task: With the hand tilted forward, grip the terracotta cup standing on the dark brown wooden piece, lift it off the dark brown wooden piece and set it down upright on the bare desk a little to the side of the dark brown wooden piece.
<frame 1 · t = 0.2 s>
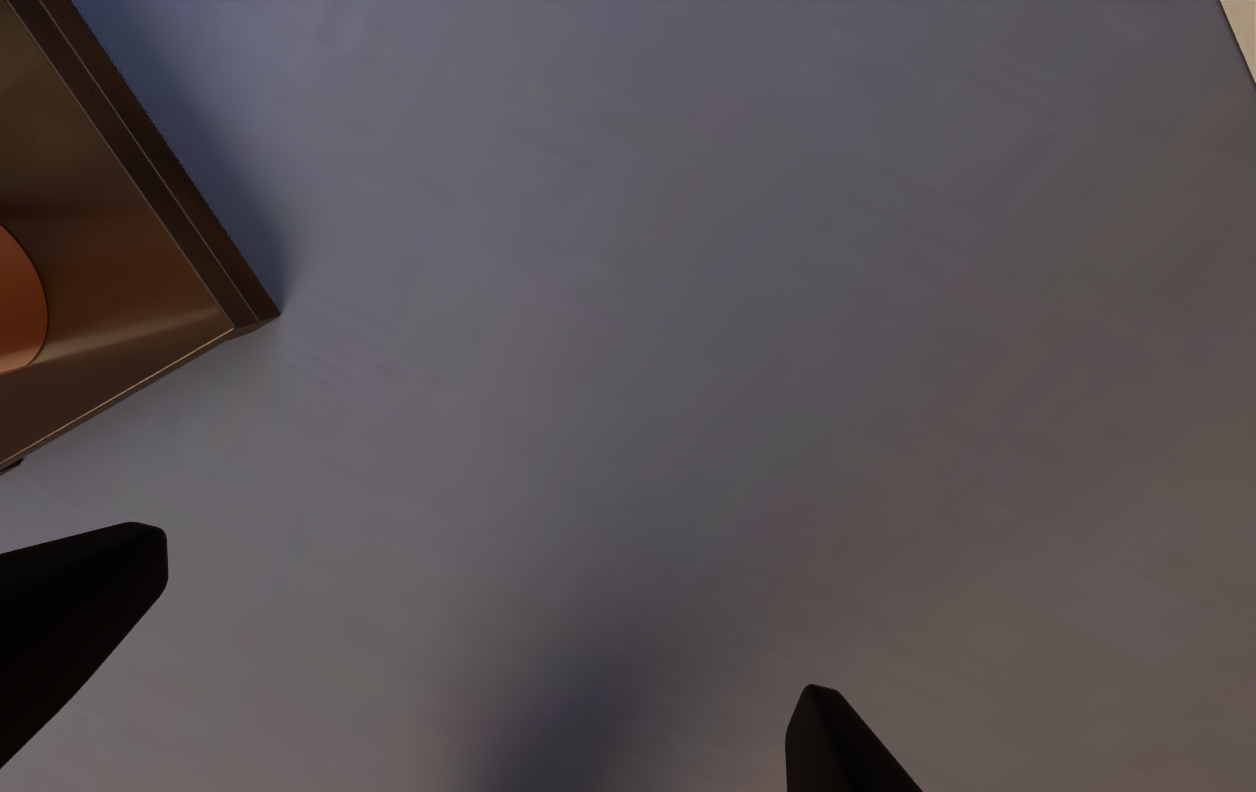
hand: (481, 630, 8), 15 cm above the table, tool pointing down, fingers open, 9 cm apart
dark brown wooden piece: (35, 278, 23), on the table
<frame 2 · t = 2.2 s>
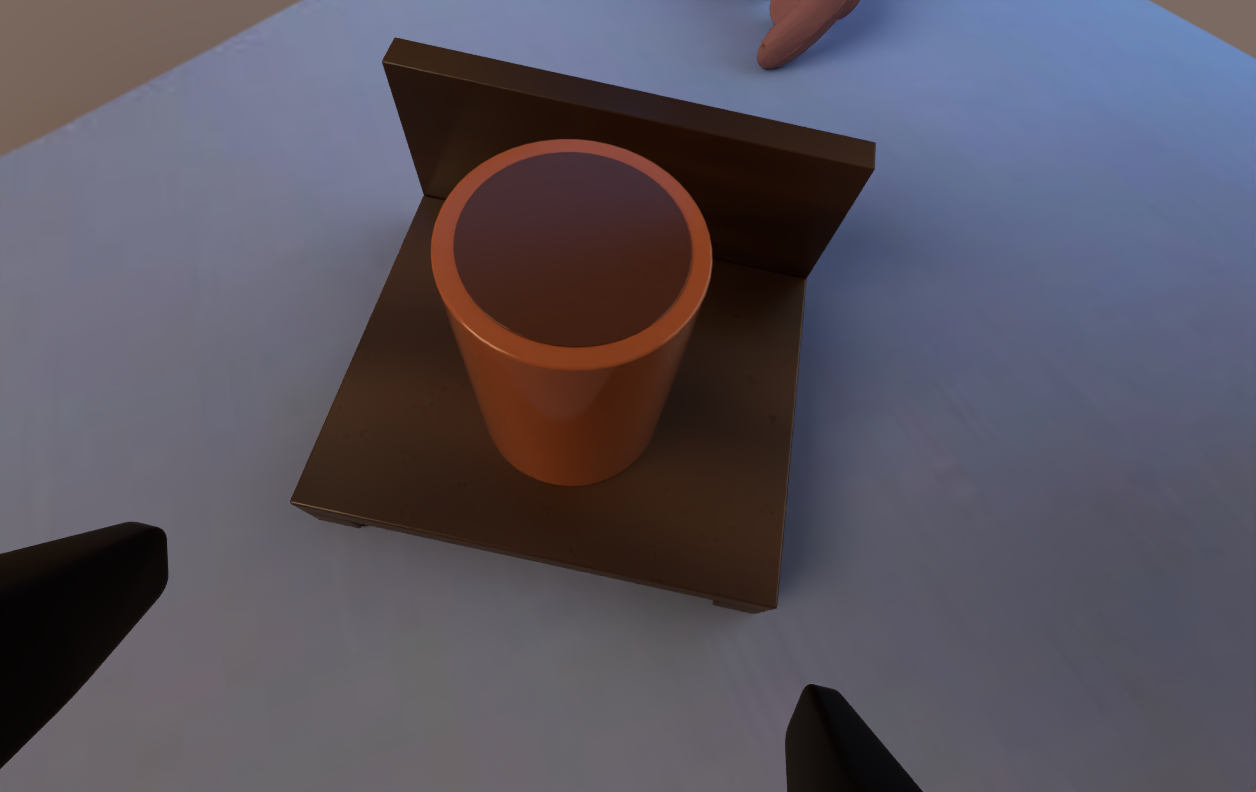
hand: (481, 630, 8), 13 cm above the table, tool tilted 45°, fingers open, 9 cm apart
cup: (572, 401, 22), point 2 cm above the table, touching dark brown wooden piece
dark brown wooden piece: (572, 426, 24), on the table
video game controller: (760, 14, 35), on the table
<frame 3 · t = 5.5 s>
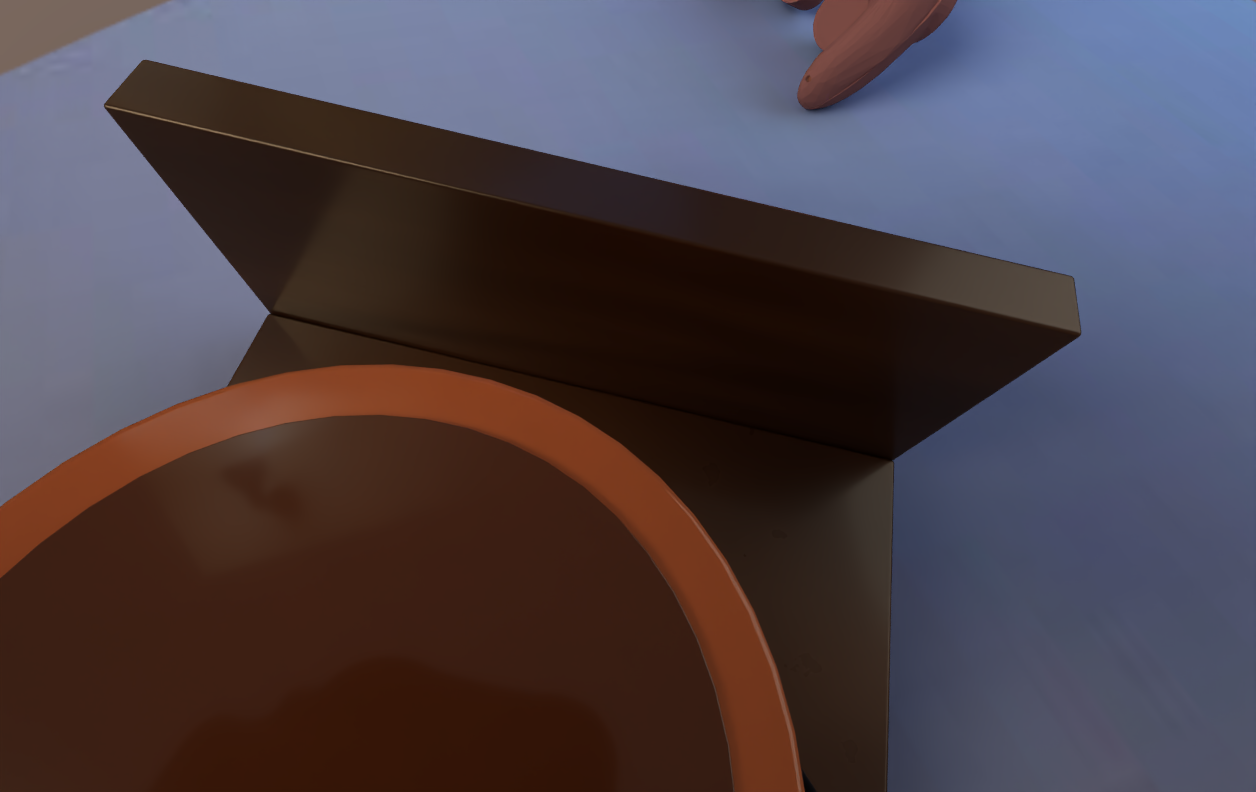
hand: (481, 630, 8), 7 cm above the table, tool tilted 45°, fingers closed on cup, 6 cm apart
cup: (486, 721, 12), point 3 cm above the table, touching gripper, dark brown wooden piece
dark brown wooden piece: (499, 714, 14), on the table
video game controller: (798, 35, 26), on the table
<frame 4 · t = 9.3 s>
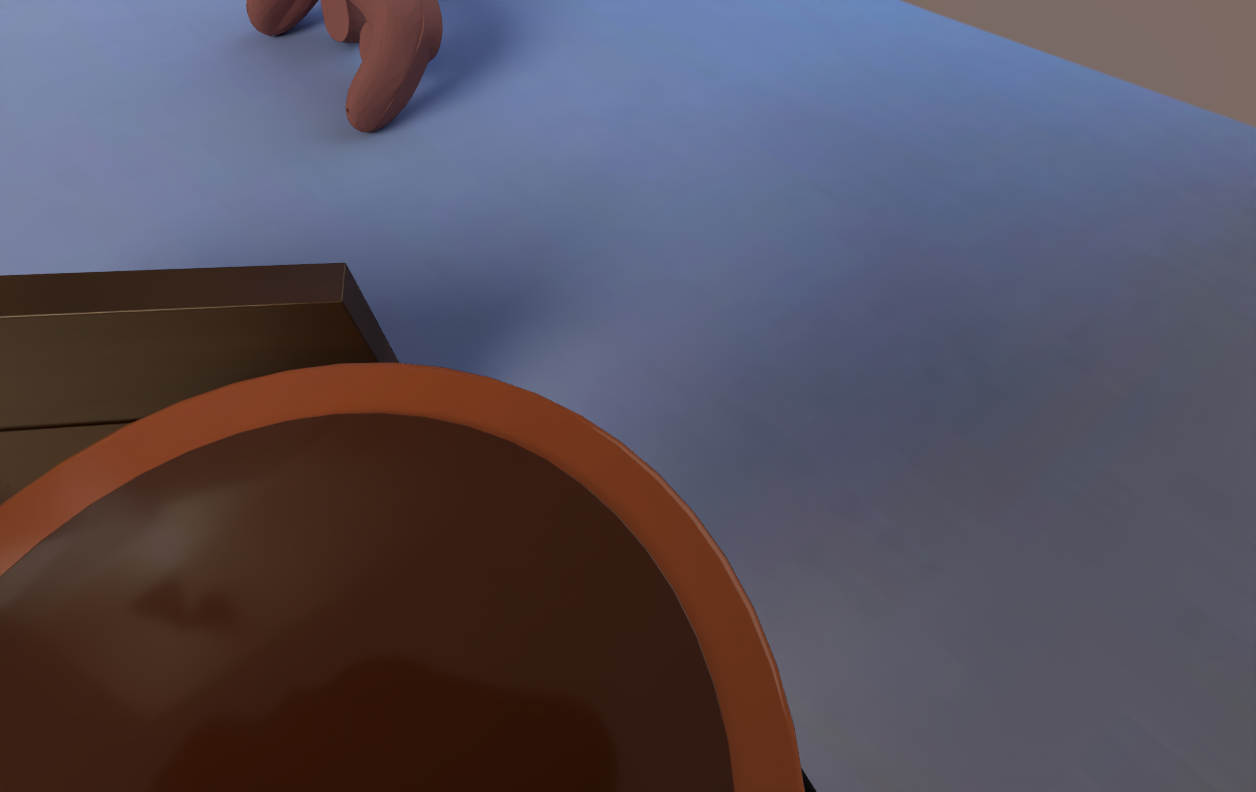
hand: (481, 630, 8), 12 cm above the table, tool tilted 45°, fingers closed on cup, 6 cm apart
cup: (486, 720, 12), point 8 cm above the table, touching gripper
dark brown wooden piece: (139, 681, 18), on the table
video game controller: (361, 66, 30), on the table
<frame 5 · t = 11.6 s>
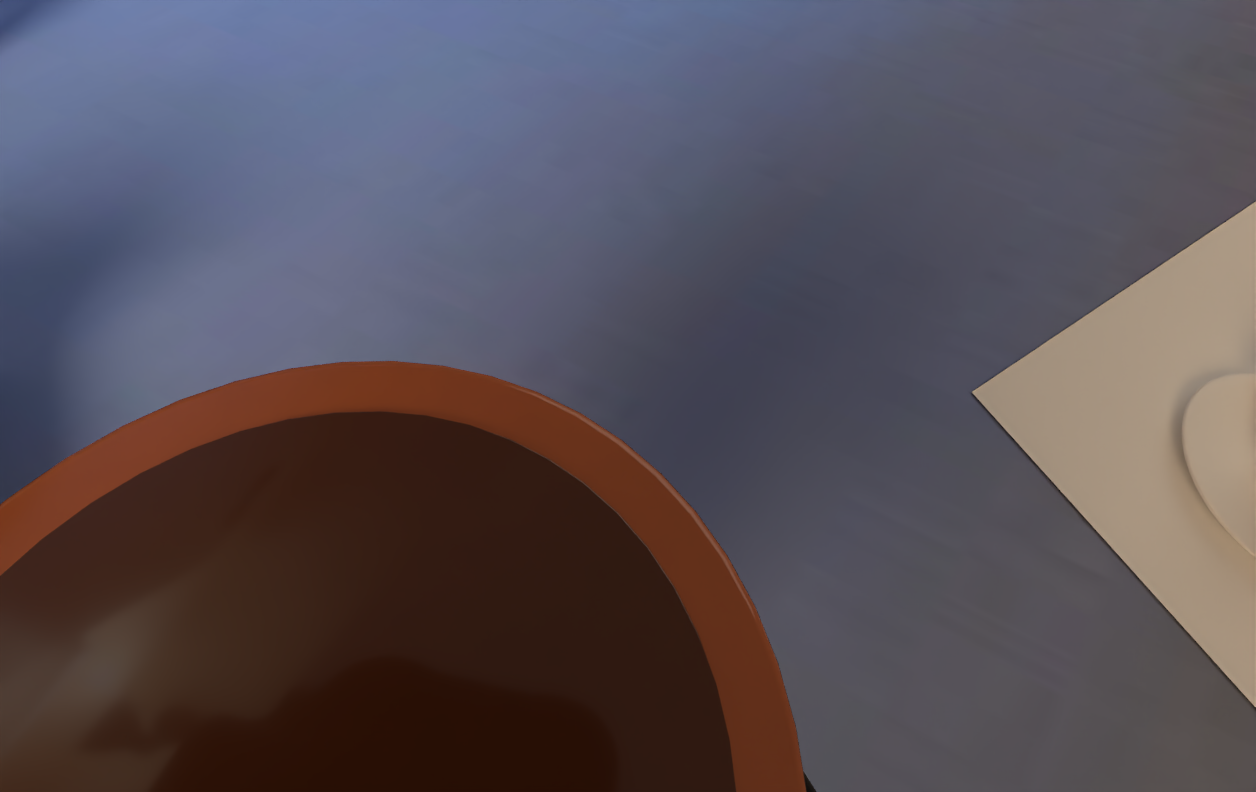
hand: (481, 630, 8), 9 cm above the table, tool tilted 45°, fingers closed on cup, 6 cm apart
cup: (486, 719, 12), point 5 cm above the table, touching gripper
when the fingers open (4 cm above the table, at t = 13.5 s): cup stays where it is, on the table.
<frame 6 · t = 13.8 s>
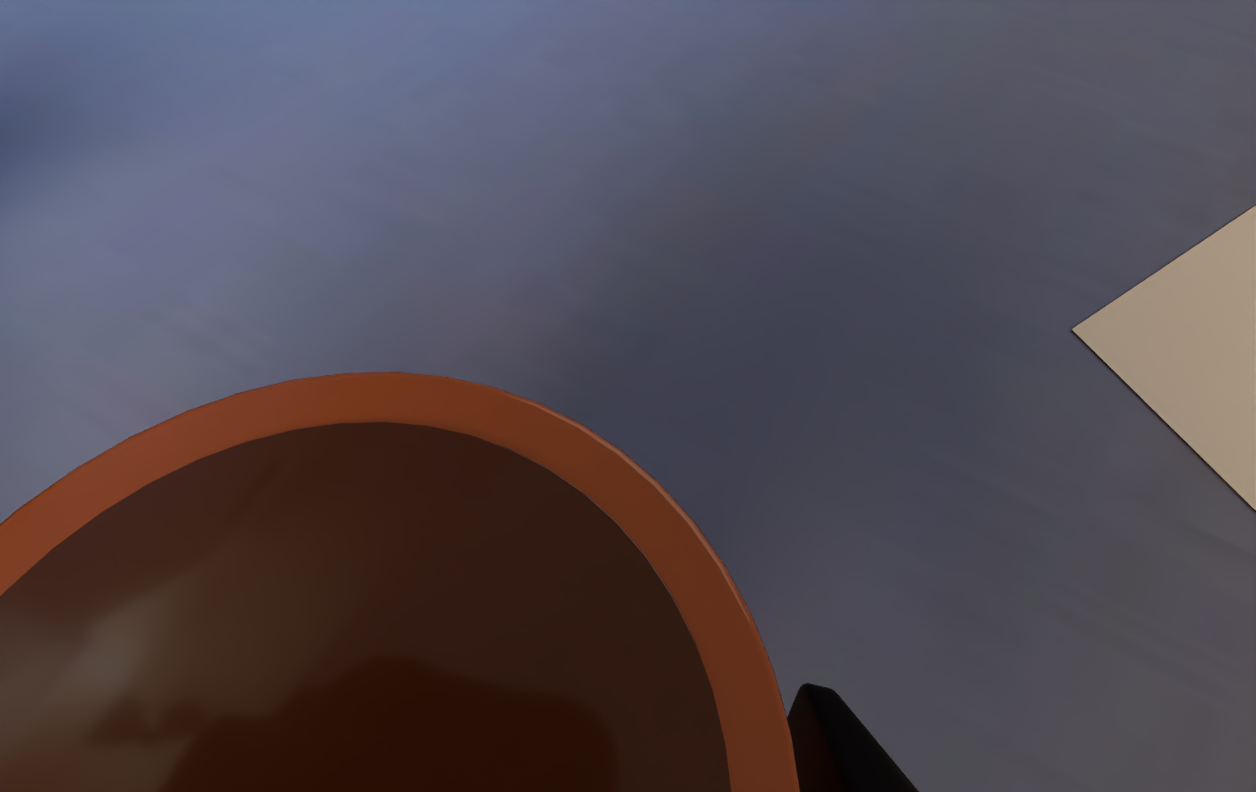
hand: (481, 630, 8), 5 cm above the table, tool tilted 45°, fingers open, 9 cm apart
cup: (487, 721, 12), on the table
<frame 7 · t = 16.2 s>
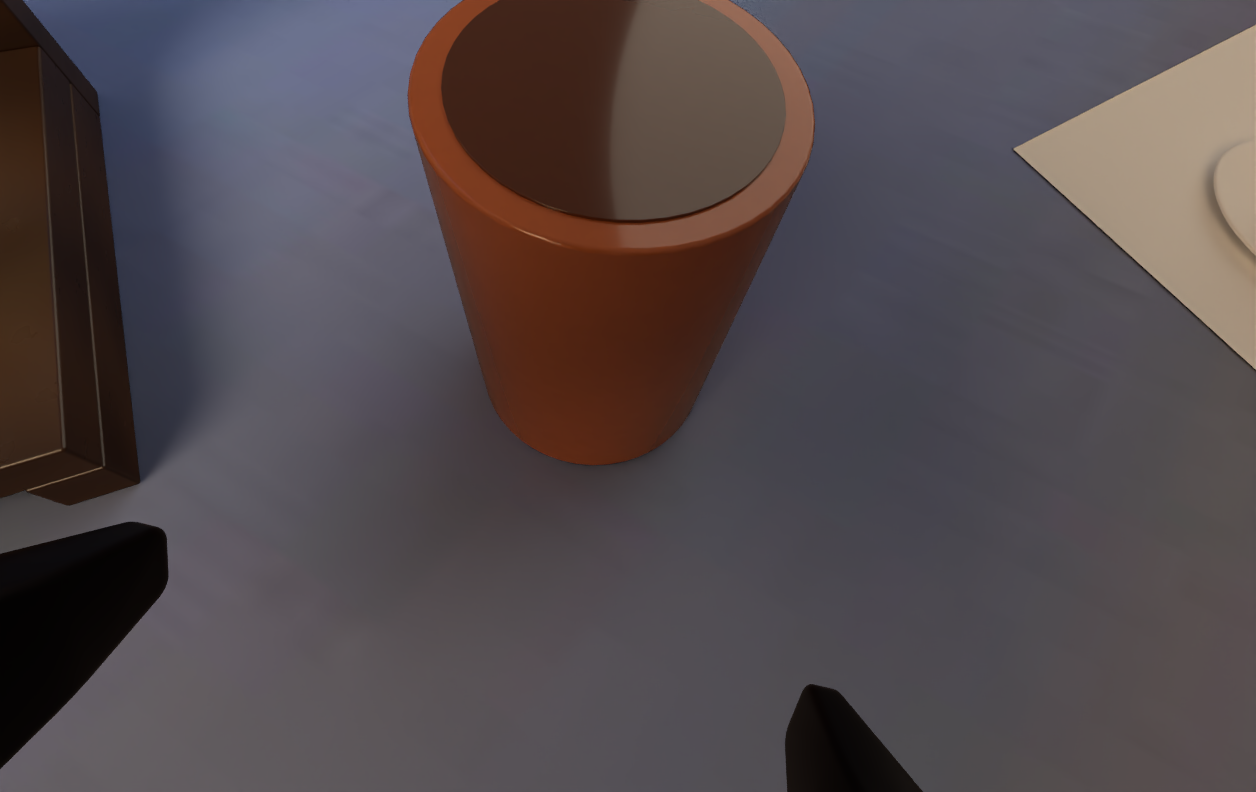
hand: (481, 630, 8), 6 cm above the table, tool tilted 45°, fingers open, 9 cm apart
cup: (593, 362, 17), on the table
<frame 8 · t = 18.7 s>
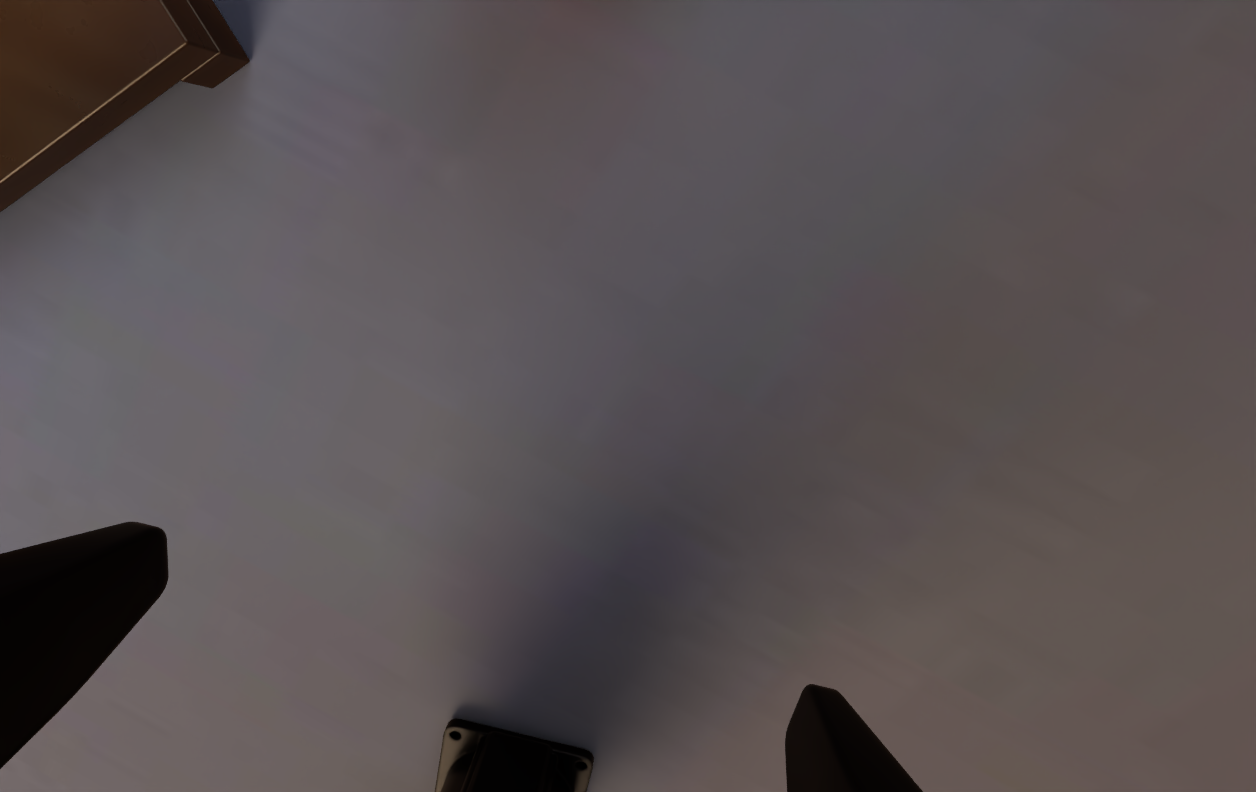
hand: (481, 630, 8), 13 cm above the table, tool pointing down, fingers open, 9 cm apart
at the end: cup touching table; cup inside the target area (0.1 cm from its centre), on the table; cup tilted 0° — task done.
